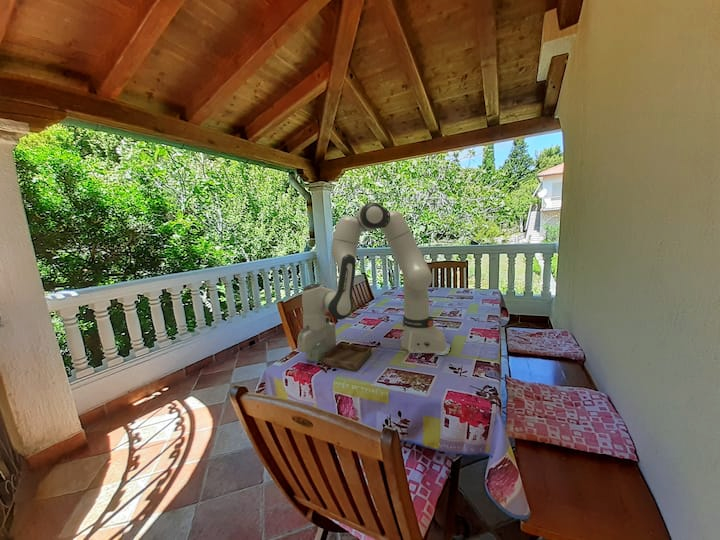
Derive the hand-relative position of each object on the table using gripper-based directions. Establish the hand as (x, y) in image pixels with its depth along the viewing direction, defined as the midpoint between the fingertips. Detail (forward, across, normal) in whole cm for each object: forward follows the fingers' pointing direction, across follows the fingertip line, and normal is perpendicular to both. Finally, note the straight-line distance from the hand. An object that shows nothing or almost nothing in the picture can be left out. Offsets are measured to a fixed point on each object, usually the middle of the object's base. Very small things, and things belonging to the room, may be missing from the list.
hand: (315, 353), depth 123 cm
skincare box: (+2, +10, -1) cm, 10 cm away
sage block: (+2, 0, 0) cm, 2 cm away
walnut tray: (+2, +4, -13) cm, 14 cm away
